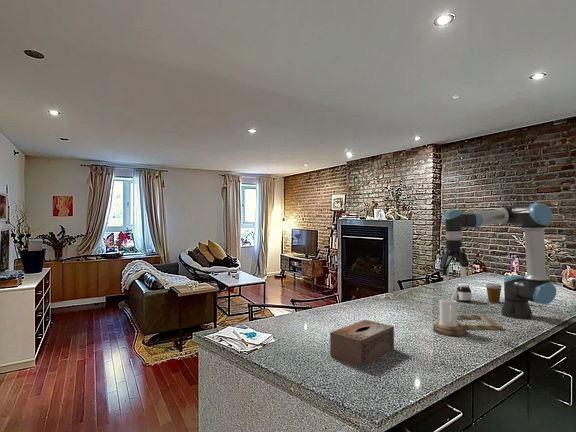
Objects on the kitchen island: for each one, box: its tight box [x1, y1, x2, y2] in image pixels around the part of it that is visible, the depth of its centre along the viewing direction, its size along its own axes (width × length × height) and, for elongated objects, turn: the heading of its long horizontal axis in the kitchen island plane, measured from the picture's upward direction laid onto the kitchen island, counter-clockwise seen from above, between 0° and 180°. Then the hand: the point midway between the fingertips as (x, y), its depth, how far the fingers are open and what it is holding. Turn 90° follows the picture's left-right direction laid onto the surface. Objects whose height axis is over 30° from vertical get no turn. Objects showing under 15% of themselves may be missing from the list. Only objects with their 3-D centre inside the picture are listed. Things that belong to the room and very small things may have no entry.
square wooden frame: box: [457, 314, 503, 331], centre depth 185 cm, size 20×20×2 cm
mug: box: [438, 298, 458, 327], centre depth 171 cm, size 12×8×12 cm
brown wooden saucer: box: [432, 321, 467, 337], centre depth 171 cm, size 15×15×3 cm
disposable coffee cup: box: [485, 282, 503, 304], centre depth 235 cm, size 10×10×12 cm
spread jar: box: [450, 283, 472, 303], centre depth 238 cm, size 12×11×12 cm
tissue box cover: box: [329, 319, 395, 367], centre depth 144 cm, size 26×14×10 cm, turn 135°
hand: (455, 280), depth 179 cm, fingers open, 13 cm apart
